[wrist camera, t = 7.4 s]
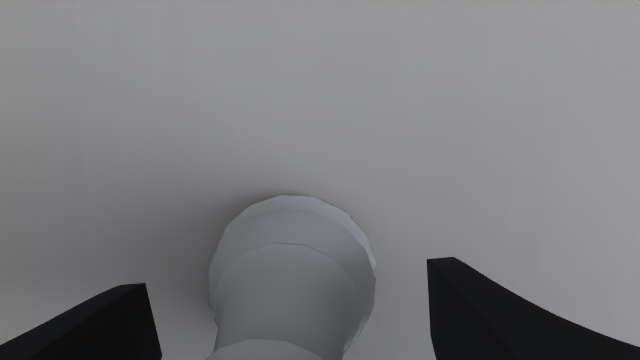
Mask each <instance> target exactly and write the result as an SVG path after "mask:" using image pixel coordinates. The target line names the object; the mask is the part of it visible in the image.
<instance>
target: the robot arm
mask: <svg viewBox="0 0 640 360" xmlns="http://www.w3.org/2000/svg"><path fill="white" fill-rule="evenodd" d="M427 272H428V292H429V311H430V331H431V339H432V343H433V347H434V351H435V355H436V359H437V360H640V347H637V346H634V345H631V344H628V343H625V342H622V341H619V340H616V339H613V338H611V337H608V336H605V335H602V334H600V333H597V332H595V331H592V330H590V329H587V328H585V327H583V326H580V325H578V324H575V323H573V322H571V321H568V320H566V319H564V318H561V317H559V316H557V315H555V314H553V313H551V312H549V311H547V310H545V309H543V308H541V307H539V306H537V305H535V304H533V303H531V302H529V301H527V300H525V299H523V298H522V297H520V296H518V295H516V294H514V293H513V292H511V291H509V290H507V289H506V288H504V287H502V286H501V285H499V284H497V283H496V282H494V281H492V280H491V279H489V278H487V277H486V276H484V275H483V274H481V273H479V272H478V271H476V270H475V269H473V268H472V267H470V266H468V265H467V264H465V263H463V262H462V261H460V260H458V259H456V258H454V257H448V258H436V259H427ZM161 358H162V352H161V348H160V344H159V340H158V335H157V331H156V327H155V323H154V318H153V314H152V310H151V306H150V301H149V297H148V293H147V289H146V284H145V283H138V284H126V285H119V286H117V287H114V288H111V289H109V290H107V291H105V292H102V293H100V294H98V295H96V296H94V297H92V298H90V299H88V300H86V301H84V302H83V303H81V304H79V305H77V306H75V307H73V308H71V309H69V310H67V311H66V312H64V313H62V314H60V315H58V316H56V317H54V318H53V319H51V320H49V321H47V322H45V323H43V324H41V325H39V326H38V327H36V328H34V329H32V330H30V331H28V332H26V333H24V334H22V335H20V336H18V337H16V338H14V339H12V340H10V341H8V342H6V343H4V344H2V345H0V360H161Z"/></svg>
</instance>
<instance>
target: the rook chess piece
mask: <svg viewBox="0 0 640 360" xmlns="http://www.w3.org/2000/svg"><path fill="white" fill-rule="evenodd" d="M375 265H376V262H375V259H374V256H373V253H372V250H371V248H370V245H369V242H368V239H367V236H366V234H365V233H364V232H363V231H362V229H361V228H360V227H359V226H358V225H357V224H356V223H355V222H354V221H353V220H352V219H351V218H350V217H349V216H348V214H347V213H346V212H345V211H343V210H341V209H339V208H337V207H335V206H333V205H331V204H328V203H326V202H324V201H322V200H320V199H318V198H315V197H308V196H291V195H279V196H276V197H273V198H270V199H267V200H264V201H261V202H258V203H255V204H252V205H250V206H248V207H247V208H246V209H245V210H244V211H243V212H242V213H241V214H239V215H238V216H237V217H236V218H235V219H234V220H233V221H232V222H230V223H229V224H228V225H227V226H226V229H225V231H224V233H223V235H222V238H221V240H220V242H219V244H218V247H217V249H216V251H215V255H214V257H213V259H212V261H211V264H210V266H209V305H210V308H211V310H212V312H213V314H214V320H215V322H216V324H217V326H218V332H217V337H216V342H215V347H214V352H213V354H212V355H211V356H210V357H208V358H207V359H206V360H342V358H343V353H344V352H346V350H347V348H348V347H349V345H350V344H351V343H352V342H354V341H355V340H356V339H357V337H358V335H359V333H360V332H361V330H362V328H363V326H364V325H365V323H366V321H367V320H368V318H369V316H370V314H371V312H372V309H373V303H374V292H375V281H376V277H375Z"/></svg>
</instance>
